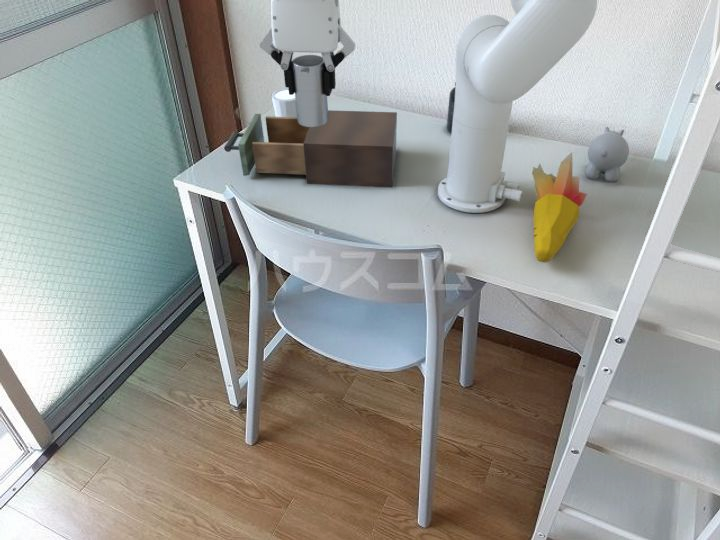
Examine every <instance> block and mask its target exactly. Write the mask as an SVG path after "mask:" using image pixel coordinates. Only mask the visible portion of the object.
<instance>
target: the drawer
mask: <svg viewBox="0 0 720 540" xmlns="http://www.w3.org/2000/svg"><path fill="white" fill-rule="evenodd" d="M265 125H266V132H267V133H266V134H267V140H268V141H265V136H264V129H263V122H262V114H261V113H254V115H253V117H252V118H251V120H250V122H249V124H248V126H247V127H246V129H245V130H244V132H239V131H238V130H233V131H232V133H231V135H230V137H229V139H228V140H227V141H226V143H225V144H224V147H223V148H224V151H225V152H227V153H230V152H231V151H238V152H239V158H240V163H241V169H242V175H243V176H250V174H251V172H252V171H253V169H254V166H255V172H256V174H257V173H258V174H279V175H280V174H281V175H282V174H283V175H305V176H306V168H305V156H304V145H303V143H304V141H305V138H306V135H307V133H308V130H309V127H306V126H302V125H300V124H299V123H298V121H297V117H276V116H269V115H267V116H265ZM239 138H240V139H239ZM238 139H239V142H238V144H237V145H235V144H236V142H237V141H238Z"/></svg>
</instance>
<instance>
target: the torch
mask: <svg viewBox="0 0 720 540" xmlns="http://www.w3.org/2000/svg"><path fill="white" fill-rule="evenodd" d="M531 175H532V178H533V181H534V187H535V193H536V199H537V200H536V201H535V202H534V208H533V215H532V218H533V220H532V221H533V222H532V223H533V246H534V247H533V249H534V255H535V258H536V260H537V262H540V263H548V262H549V261H551V260H552V259H553V258H554V257H555V256H556V255H557V253H558V252H559V251H560V249H561V248H562V247H563V245H564V243H565V241H566V239H567V237H568V235H569V233H570V232H571V230H572V229H573V228H574V226H575V224H577V222H578V220H579V218H580V207H581V206H582V205H583V203H584V202H585V200H586V198H587V196H588V193H586V192H581V191H580V183H581V176H579V175H573V151H571V152H570V153H569V154H568V155H567V156H566V157H565V158H563V160H561V162H560V164H559V167H558V170H557V173H556V176H555V175H554V174H553V173H549V174H547V172H545V171H544V169H543V167H542V165H541V163H539V164H538V165H537V167H534V166H533V167H532V171H531Z"/></svg>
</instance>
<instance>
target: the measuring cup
mask: <svg viewBox="0 0 720 540" xmlns="http://www.w3.org/2000/svg"><path fill="white" fill-rule="evenodd" d="M292 67H293V78H294V88H295V99H296V110H297V121H298V123H299V124H300V125H302V126H306V127H318V126H322V125H324V124H326V123H327V122H328V120H329V119H328V110H329V104H328V103H329V102H328V96H326V95H325V87H324V71H325V67H326V65H325V62H324V60H323V57H322V55H317V54H304V55H303V54H302V55H299V56H296V57H294V58H292Z"/></svg>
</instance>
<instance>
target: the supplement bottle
mask: <svg viewBox="0 0 720 540" xmlns="http://www.w3.org/2000/svg"><path fill="white" fill-rule="evenodd" d="M455 87H456V81H455V82H454V87H453V88H451V90H450V91H449V97H448V107H447V118H446V129H447V131H448V133H450V134H452V123H453V114H454V103H455Z"/></svg>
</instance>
